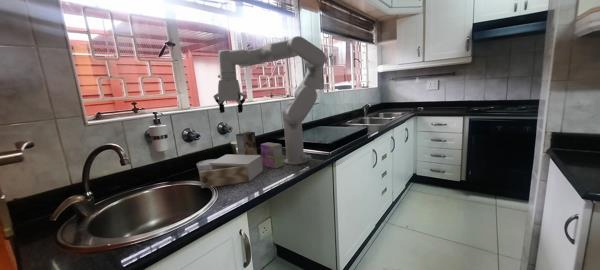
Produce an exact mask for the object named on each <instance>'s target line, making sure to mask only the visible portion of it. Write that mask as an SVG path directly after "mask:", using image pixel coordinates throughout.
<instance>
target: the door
mask: <svg viewBox="0 0 600 270" xmlns="http://www.w3.org/2000/svg"><path fill="white" fill-rule="evenodd" d="M198 174H199V180H200V188H201V189H205V188H213V187H219V186H226V185H234V184H240V183H247V182H250V181H249V178H248V169H247V166H240V167H232V168H224V169H216V170H209V171H201V172H199V171H198ZM211 186H212V187H211Z"/></svg>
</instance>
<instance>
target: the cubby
mask: <svg viewBox="0 0 600 270" xmlns="http://www.w3.org/2000/svg"><path fill="white" fill-rule="evenodd" d="M215 159H216V160H214V161H212V162H210V170H216V169H224V168H232V167H240V166H247V169H248V178H249V181H248V182H250V181H252V180H253V179H255V178H256V177H257V176H258V175H259V174H261V173H262V172H263V171H264V169H263V167H264V165H263V161H262V154H257V155H238V154H229V153H228V154H227V153H226V154H224V155H223V156H220V157H219V158H215Z"/></svg>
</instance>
